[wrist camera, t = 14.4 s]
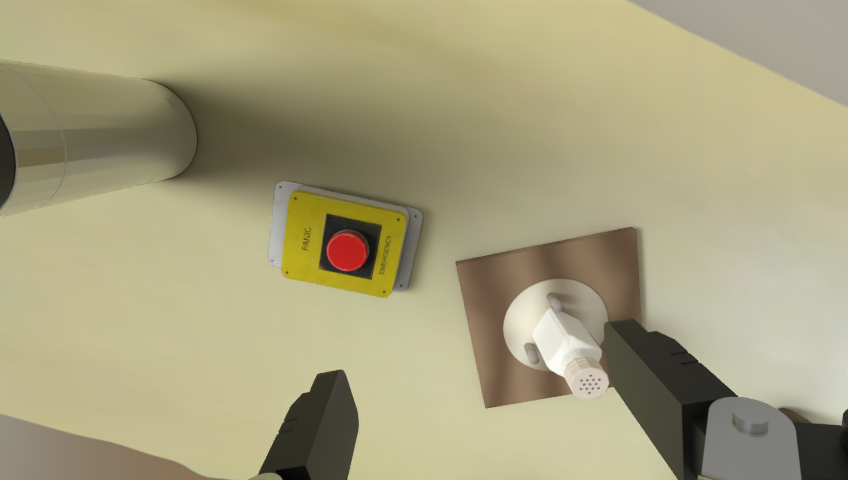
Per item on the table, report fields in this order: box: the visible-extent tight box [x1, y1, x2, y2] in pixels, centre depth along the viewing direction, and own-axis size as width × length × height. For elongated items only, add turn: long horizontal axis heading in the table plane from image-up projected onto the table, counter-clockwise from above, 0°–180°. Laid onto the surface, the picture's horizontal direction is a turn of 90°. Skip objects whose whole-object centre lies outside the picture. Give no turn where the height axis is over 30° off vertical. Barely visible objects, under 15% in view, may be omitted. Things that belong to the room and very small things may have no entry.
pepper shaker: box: [532, 308, 609, 400], centre depth 37 cm, size 4×4×10 cm
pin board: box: [456, 227, 642, 408], centre depth 41 cm, size 18×18×4 cm
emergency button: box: [268, 181, 423, 298], centre depth 39 cm, size 9×4×15 cm
